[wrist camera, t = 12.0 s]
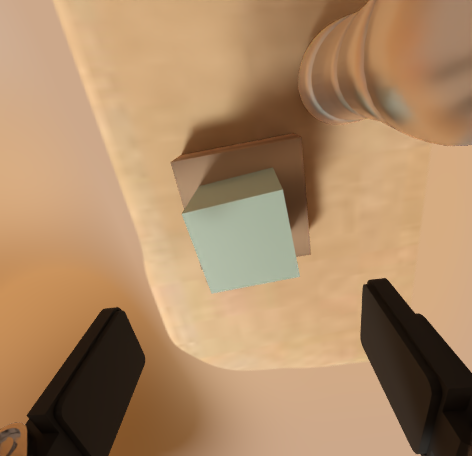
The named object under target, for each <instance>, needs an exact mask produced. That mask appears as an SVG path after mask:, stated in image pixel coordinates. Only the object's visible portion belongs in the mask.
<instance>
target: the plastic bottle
mask: <svg viewBox="0 0 472 456" xmlns="http://www.w3.org/2000/svg"><path fill="white" fill-rule="evenodd" d="M298 89H299V94H300V97H301V100H302V102H303V104H304V106H305V108H306V109H307V110H308V111H309V113H310V114H311V115H312V116H314V117H315V118H316V119H318V120H320V121H322V122H324V123H328V124H333V125H343V124H348V123H352V122H357V121H360V120H363V119H373V120H377V121H380V122H382V123H384V124H386V125H388V126H390V127H392V128H394V129H396V130H398V131H400V132H402V133H404V134H406V135H409V136H411V137H413V138H416V139H420V140H423V141H426V142H429V143H434V144H439V145H444V146H468V145H472V0H369V1H368V2H367V3H366V4H365V6H364V7H363V8H362V9H361V10H359V11H357V12H356V13H353V14H349V15H347V16H345V17H343V18H341V19H339V20H337V21H335V22H333V23H331V24H330V25H328V26H327V27H326V28H324V29H323V30H322V31H321V32H320V33H319V34H318V35H317V36H316V37H315V38H314V39H313V41H312V42H311V44H310V45H309V46H308V48H307V50H306V52H305V54H304V56H303V58H302V61H301V65H300V69H299V76H298Z"/></svg>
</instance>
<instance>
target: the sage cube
mask: <svg viewBox="0 0 472 456" xmlns="http://www.w3.org/2000/svg"><path fill="white" fill-rule="evenodd" d="M182 216H183V219H184V221H185V224H186V227H187V229H188V232H189V235H190V237H191V240H192V243H193V245H194V248H195V251H196V253H197V256H198V259H199V261H200V264H201V266H202V269H203V272H204V274H205V277H206V280H207V282H208V285H209V288H210V290H211V293H217V292H223V291H228V290H233V289H238V288H243V287H249V286H254V285H259V284H264V283H270V282H275V281H280V280H285V279H291V278H296V277H300V274H299V269H298V264H297V259H296V254H295V249H294V244H293V239H292V234H291V229H290V223H289V218H288V213H287V208H286V203H285V198H284V193H283V189H282V187H281V184H280V182H279V180H278V178H277V175H276V173H275V171H274V169H273V167H272V168H268V169H264V170H261V171H257V172H253V173H249V174H245V175H241V176H237V177H233V178H229V179H225V180H221V181H217V182H213V183H210V184H206V185H202V186H199V187H198V189H197V190H196V192H195V193H194V195H193V197H192V198H191V200H190V201H189V203H188V205H187V206H186V208H185V209H184V211H183V213H182Z"/></svg>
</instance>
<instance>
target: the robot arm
mask: <svg viewBox="0 0 472 456" xmlns="http://www.w3.org/2000/svg"><path fill="white" fill-rule="evenodd" d="M361 343H362V346H363V348H364V350H365V352H366V355H367V357H368V359H369V361H370V363H371V365H372V367H373V369H374V371H375V373H376V375H377V377H378V379H379V381H380V384H381V386H382V388H383V390H384V392H385V394H386V396H387V398H388V400H389V402H390V404H391V407H392V409H393V411H394V413H395V415H396V417H397V419H398V421H399V423H400V425H401V427H402V429H403V431H404V433H405V435H406V438H407V440H408V442H409V444H410V446H411V448H412V450H413V451H414V452H415V453H416V454H421V456H472V373H471V372H470V370H469V369H468V368H467V367H466V366H465V364H464V363H463V362H462V361H461V360H460V358H459V357H458V356H457V355H456V354H455V353H454V351H453V350H452V349H451V348H450V347H449V346H448V344H447V343H446V342H445V341H444V340H443V338H442V337H441V336H440V335H439V334H438V332H437V331H436V330H435V329H434V328H433V326H432V325H431V324H430V323H429V322H428V321H427V319H426V318H425V317H424V316H423V315H421V314H415V313H414V312H413V310H412V309H411V308H410V307H409V306H408V304H407V303H406V302H405V301H404V299H403V298H402V297H401V296H400V294H399V293H398V292H397V291H396V289H395V288H394V287H393V286H392V285H391V283H390V282H389V281H388V280H387V279H386V278H382V279H373V280H368V282H367V284H365V285H363V293H362V314H361ZM144 364H145V355H144V353H143V351H142V349H141V347H140V344H139V342H138V340H137V338H136V335H135V333H134V331H133V329H132V327H131V325H130V322H129V320H128V318H127V316H126V313H125V312H124V311H122V310H121V309H120V308H118V307H116V308H107V309H103V310H102V311H101V312H100V313H99V315H98V316H97V318H96V319H95V320H94V322H93V323H92V325H91V326H90V327H89V329H88V330H87V332H86V333H85V334H84V336H83V337H82V339H81V340H80V341H79V343H78V344H77V346H76V347H75V348H74V350H73V351H72V353H71V354H70V355H69V357H68V358H67V360H66V361H65V362H64V364H63V365H62V367H61V368H60V369H59V371H58V372H57V374H56V375H55V376H54V378H53V379H52V381H51V382H50V384H49V385H48V386H47V388H46V389H45V390H44V392H43V393H42V395H41V396H40V397H39V399H38V400H37V402H36V403H35V404H34V406H33V407H32V409H31V410H30V411H29V413H28V414H27V417H28V418H29V420H28V421H27V423H26V424H25V425H24V424H23V423H17V422H16V423H12V424H9V425H7V426H5V427H3V428H1V429H0V456H108V455H109V453H110V450H111V448H112V445H113V442H114V440H115V438H116V435H117V433H118V430H119V428H120V425H121V423H122V420H123V417H124V415H125V412H126V410H127V407H128V405H129V402H130V400H131V397H132V395H133V392H134V390H135V387H136V385H137V382H138V380H139V377H140V375H141V372H142V369H143V367H144Z"/></svg>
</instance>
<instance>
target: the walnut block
mask: <svg viewBox="0 0 472 456" xmlns="http://www.w3.org/2000/svg"><path fill="white" fill-rule="evenodd" d="M171 165H172V169H173V172H174V176H175V179H176V183H177V186H178V190H179V193H180V196H181V200H182V203H183V207H184V209H185V208H186V206H187V205H188V203H189V201H190V200H191V198H192V197H193V195H194V193H195V192H196V190H197V189H198V187H199V186H202V185H206V184H210V183H213V182H217V181H221V180H225V179H229V178H233V177H237V176H241V175H245V174H249V173H253V172H257V171H261V170H264V169H268V168H272V167H273V169H274V171H275V173H276V175H277V178H278V180H279V182H280V184H281V187H282V189H283V193H284V198H285V203H286V208H287V213H288V218H289V223H290V229H291V234H292V239H293V244H294V249H295V254H296V257H297V256H305V255H311V249H310V236H309V224H308V212H307V199H306V187H305V174H304V162H303V150H302V137H300V136H298V135H296V134H294V133H292V134H287V135H281V136H276V137H271V138H266V139H261V140H256V141H250V142H245V143H240V144H235V145H230V146H225V147H219V148H214V149H209V150H204V151H199V152H194V153H188V154H183V155H180V156H179V157H178V158H176V159H175V160H173V161H172V162H171ZM199 262H200V261H199ZM200 266H201V264H200ZM201 269H202V266H201ZM202 270H203V269H202Z"/></svg>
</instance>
